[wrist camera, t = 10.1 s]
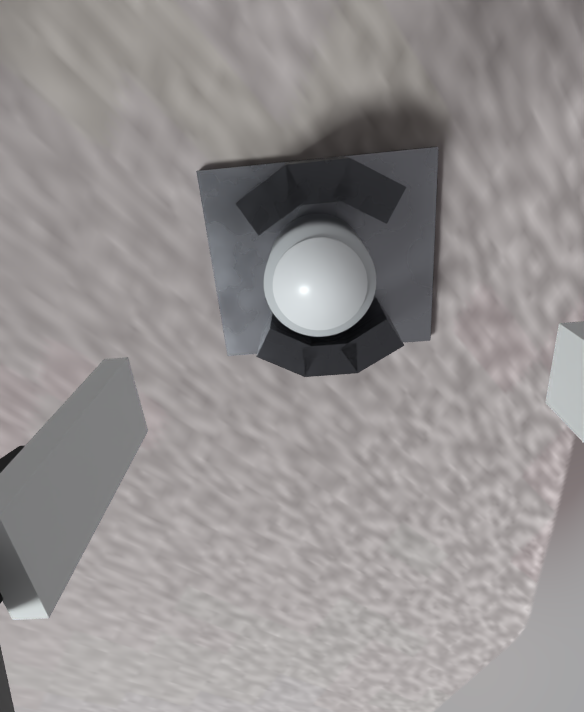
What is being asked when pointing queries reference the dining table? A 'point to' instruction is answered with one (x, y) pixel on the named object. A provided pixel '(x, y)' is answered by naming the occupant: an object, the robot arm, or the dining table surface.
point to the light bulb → (319, 276)
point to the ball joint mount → (362, 213)
